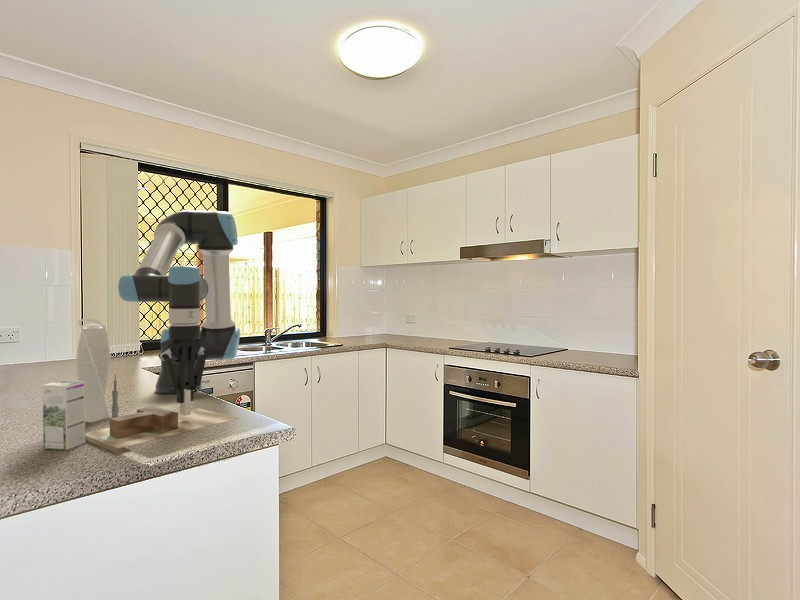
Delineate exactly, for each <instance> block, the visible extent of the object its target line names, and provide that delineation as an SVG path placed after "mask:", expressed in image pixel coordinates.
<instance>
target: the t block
mask: <svg viewBox="0 0 800 600" xmlns="http://www.w3.org/2000/svg"><path fill="white" fill-rule="evenodd" d="M178 413H179V412H178V411H177V412H176V411H172V410H170V409H169V410H168V409H165V408H160V407H158V406H147V407H143V408H138V409H136V412H135V413H132V414H126V415H122V416H119V417H115V418H111V417H110V418H109V427H110V436H112V437H114V438H117V439H119V438H123V437H127V436H131V435H136V434H140V433H144V432H148V431H153V430H154V431H157V432H160V433H164V432H168V431H172V430H177V429H178Z"/></svg>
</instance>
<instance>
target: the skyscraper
mask: <svg viewBox="0 0 800 600" xmlns="http://www.w3.org/2000/svg"><path fill="white" fill-rule="evenodd" d="M77 322H78V325H79V328H80V334H79V338H78V343H77V351H76V359H75V360H76V362H75V363H76V364H75V365H76V376H77V377H76V378H77V381H85V423H90V424H93V423H95V422H99V421H102V420H106V419H110V418H111V417H112V418H115V417H120V416H119V413H120V406H119V392H120V391H119V389H118V381H117V374H114V380H113V390H111V395H112V396H111V397H112V405H111V417H110V413H109V409H108V405H107V401H106V398H105V394H106V390H107V387H108V386H107V385H108V381H109V376H110V371H111V369H110V368H111V349H110V343H109V339H108V333H107V329H106V326H105V325H104V324H103V323H102V322H100V321H99V320H96V319H91V318H81V319H79V320H77ZM82 322H93V323H87V324H86V323H85V324H82Z"/></svg>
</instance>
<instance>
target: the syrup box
mask: <svg viewBox="0 0 800 600" xmlns="http://www.w3.org/2000/svg"><path fill="white" fill-rule="evenodd" d="M85 433H86V422H85V381H78V380H57V381H51V382H49V383H45V384H42V439H43V442H42V444H43V446H42V447H43V448H42V449H43V450H52V451H53V450H54V451H69V450H71V449H73V448H74V449H75V448H76V447H78V446H81V445H83V444H85V443H86V442H87V441H86V439H85Z"/></svg>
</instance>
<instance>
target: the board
mask: <svg viewBox="0 0 800 600" xmlns="http://www.w3.org/2000/svg"><path fill="white" fill-rule="evenodd" d="M177 413H178V429H177V430H172V431H168V432H164V433H160V432H157V431H154V430H153V431H148V432H144V433H140V434H136V435H131V436H127V437H123V438H119V439H117V438H114V437H112V436H110V426H109V427H105V428H100V429H95V430H90V431H87V432H86V431H85V439H86V442H89V443H91V444H94V445H95V446H98V447H101V448H103V449H104V450H108V451H109V452H112V453H114V454H117V455H120V454H124V453H127V452H131V451H132V449H128V448H126V447H130V446H135V445H138V444H139V445H140V444H142V443H147V442H149V441H150V442H151V441H154V440H159V439H163V438H166V437H171V436H174V435H178V434H181V433H182V434H183V433H186V432H190V431H194V430H199V429H202V428H206V427H210V426H213V425H218V424H222V423H226V422H230V421H234V420H239V417H237V416H232V415H228V414H224V413H220V412H215V411H212V410H211V411H210V410H208V409H203V408H199V407H198V408H194V409H191V415H187V416H184V415H180V411H178V412H177Z"/></svg>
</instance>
